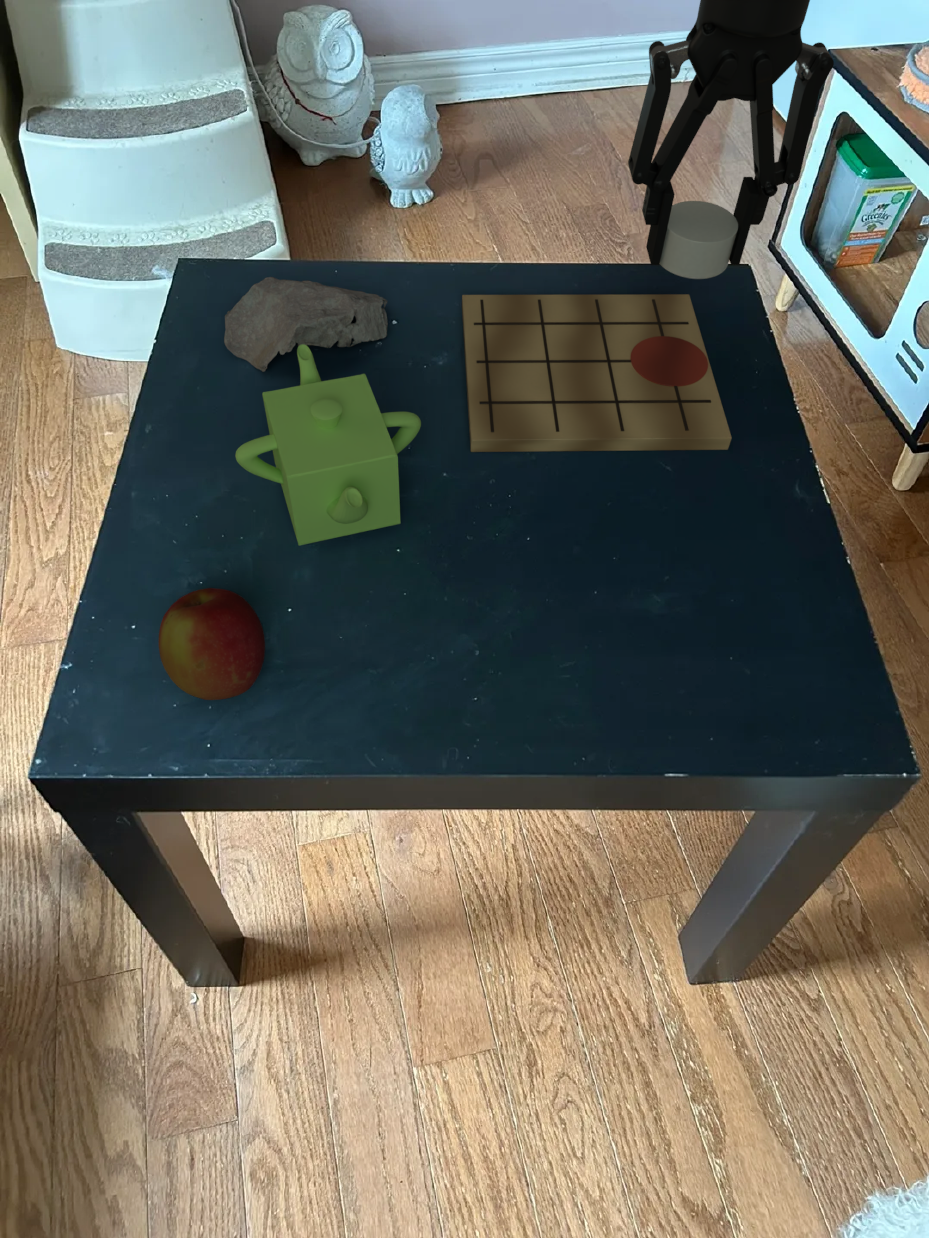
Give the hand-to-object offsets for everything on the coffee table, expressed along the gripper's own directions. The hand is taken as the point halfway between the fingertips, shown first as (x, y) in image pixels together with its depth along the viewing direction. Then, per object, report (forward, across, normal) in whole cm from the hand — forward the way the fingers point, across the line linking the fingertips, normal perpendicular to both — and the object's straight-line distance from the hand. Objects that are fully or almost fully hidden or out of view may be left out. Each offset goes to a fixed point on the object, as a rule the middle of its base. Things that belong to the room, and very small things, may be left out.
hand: (692, 255), depth 85 cm
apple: (+14, +40, +34) cm, 54 cm away
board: (+13, +8, 0) cm, 15 cm away
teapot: (+14, +32, +16) cm, 38 cm away
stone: (+14, +36, -6) cm, 39 cm away
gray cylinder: (0, 0, 0) cm, 0 cm away
